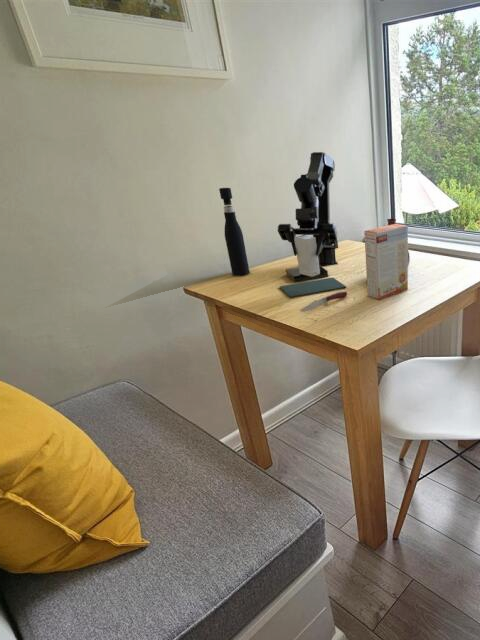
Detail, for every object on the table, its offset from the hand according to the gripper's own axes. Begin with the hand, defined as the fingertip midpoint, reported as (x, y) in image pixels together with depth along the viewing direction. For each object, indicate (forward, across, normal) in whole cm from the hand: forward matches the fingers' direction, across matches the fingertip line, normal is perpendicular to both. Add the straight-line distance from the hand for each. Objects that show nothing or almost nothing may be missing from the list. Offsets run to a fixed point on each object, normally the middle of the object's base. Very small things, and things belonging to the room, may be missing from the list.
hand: (306, 255), depth 137 cm
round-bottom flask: (-3, +27, +21) cm, 34 cm away
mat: (+6, 0, +11) cm, 13 cm away
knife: (+18, +7, -1) cm, 20 cm away
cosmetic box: (+4, 0, +6) cm, 7 cm away
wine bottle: (-5, -31, +23) cm, 39 cm away
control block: (-4, -5, +21) cm, 22 cm away
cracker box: (+9, +26, +8) cm, 29 cm away
